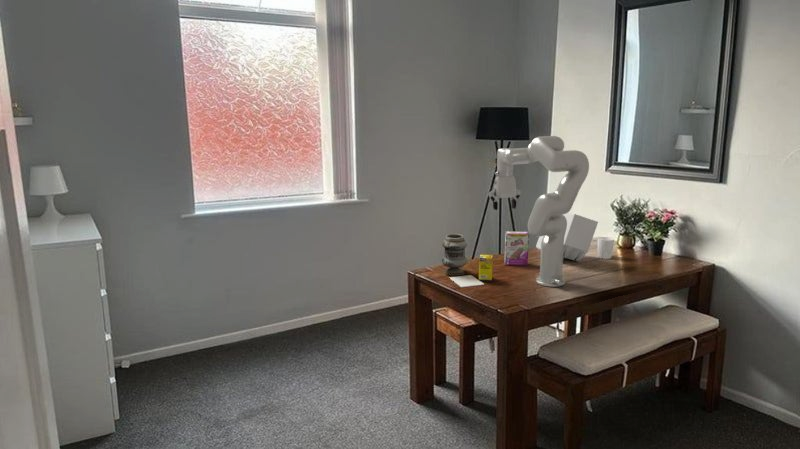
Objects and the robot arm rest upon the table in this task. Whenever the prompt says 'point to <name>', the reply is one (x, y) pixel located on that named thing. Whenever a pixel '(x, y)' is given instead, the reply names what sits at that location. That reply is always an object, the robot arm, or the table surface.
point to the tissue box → (576, 236)
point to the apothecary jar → (454, 254)
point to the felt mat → (466, 281)
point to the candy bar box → (516, 248)
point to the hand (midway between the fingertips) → (504, 208)
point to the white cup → (605, 247)
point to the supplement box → (485, 267)
